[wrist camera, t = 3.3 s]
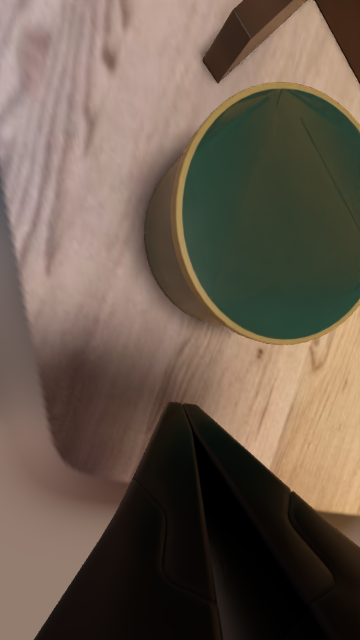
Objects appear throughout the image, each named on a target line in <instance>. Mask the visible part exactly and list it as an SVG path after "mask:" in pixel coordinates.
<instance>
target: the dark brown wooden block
mask: <svg viewBox="0 0 360 640" xmlns="http://www.w3.org/2000/svg"><path fill="white" fill-rule="evenodd" d="M306 1H307V0H243V1H242V2H241V3H240V4H239V5H238V6H237V7H235V8H234V9H233V10H232V12H231V14H230V15H229V17H228V19H227V20H226V22H225V24H224V25H223V27H222V29H221V30H220V32H219V34H218V35H217V37H216V39H215V40H214V42H213V44H212V45H211V47H210V49H209V50H208V52H207V54H206V55H205V57H204V59H203V61H204V63H205V64H206V66H207V67H208V69H209V70H210V71H211V73H212V74H213V76H214V77H215V79H216V80H217V82H218V83H219V82H220V81H221V80H222V79H223V78H224V77H225V76H226V75H227V74H228V73H230V72H231V71H232V70H233V69H234V68H235V67H236V66H237V65H238V64H239V63H240V62H241V61H242V60H243V59H245V58H246V57H247V56H248V55H249V54H250V53H251V52H252V51H253V50H254V49H255V48H256V47H257V46H258V45H260V44H261V43H262V42H263V41H264V40H265V39H266V38H267V37H268V36H269V35H270V34H271V33H272V32H273V31H274V30H276V29H277V28H278V27H279V26H280V25H281V24H282V23H283V22H284V21H285V20H286V19H287V18H288V17H289V16H291V15H292V14H293V13H294V12H295V11H296V10H297V9H298V8H299V7H300V6H301V5H302V4H303V3H304V2H306ZM316 2H317V3H318V5H319V7H320V9H321V11H322V13H323V15H324V16H325V18H326V20H327V22H328V24H329V26H330V28H331V30H332V31H333V33H334V35H335V37H336V39H337V41H338V43H339V44H340V46H341V48H342V50H343V52H344V54H345V56H346V58H347V59H348V61H349V63H350V65H351V67H352V69H353V71H354V72H355V74H356V76H357V78H358V80H359V82H360V0H316Z"/></svg>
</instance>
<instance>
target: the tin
mask: <svg viewBox="0 0 360 640" xmlns="http://www.w3.org/2000/svg"><path fill="white" fill-rule="evenodd" d="M145 247H146V253H147V257H148V261H149V265H150V267H151V270H152V273H153V275H154V277H155V279H156V281H157V283H158V284H159V286H160V287H161V289H162V290H163V292H164V293H165V295H166V296H167V297H168V298H169V299H170V300H171V301H172V302H173V303H174V304H175V305H176V306H177V307H178V308H180V309H181V310H182V311H184V312H185V313H187V314H189V315H190V316H192V317H194V318H196V319H199V320H201V321H205V322H208V323H211V324H215V325H218V326H222V327H225V328H228V329H230V330H231V331H233V332H235V333H237V334H239V335H242V336H244V337H246V338H249V339H252V340H256V341H260V342H263V343H267V344H276V345H293V344H298V343H304V342H308V341H310V340H313V339H316V338H319V337H321V336H323V335H325V334H327V333H329V332H330V331H332V330H333V329H335V328H336V327H338V326H339V325H340V324H342V323H343V322H344V321H345V320H346V319H347V318H348V317H349V316H351V315H352V313H353V312H354V311H355V310H356V309H357V308H358V306H359V305H360V125H359V123H358V122H357V121H356V120H355V119H354V118H353V117H352V115H351V114H350V113H349V112H348V111H347V110H346V109H345V108H343V107H342V106H341V105H340V104H339V103H338V102H336V101H335V100H333V99H332V98H330V97H329V96H327V95H326V94H324V93H322V92H320V91H317V90H315V89H313V88H311V87H307V86H304V85H300V84H296V83H287V82H276V83H266V84H261V85H257V86H253V87H250V88H248V89H246V90H243V91H241V92H239V93H237V94H235V95H234V96H232V97H231V98H229V99H228V100H226V101H224V102H223V103H222V104H221V105H220V106H219V107H218V108H217V109H215V110H214V111H213V112H212V113H211V114H210V115H209V117H208V118H207V119H206V120H205V122H204V123H203V124H202V125H201V126H200V128H199V129H198V130H197V131H196V133H195V134H194V136H193V137H192V139H191V141H190V142H189V144H188V146H187V147H186V149H185V151H184V153H183V154H182V155H181V156H180V157H179V158H178V159H177V161H176V162H175V163H174V164H173V165H172V166H171V167H170V169H169V170H168V171H167V172H166V173H165V175H164V176H163V177H162V178H161V180H160V181H159V183H158V185H157V186H156V188H155V190H154V192H153V195H152V197H151V199H150V202H149V206H148V209H147V213H146V220H145Z"/></svg>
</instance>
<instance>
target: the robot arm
mask: <svg viewBox="0 0 360 640" xmlns="http://www.w3.org/2000/svg"><path fill="white" fill-rule="evenodd" d="M34 640H360V547H359V546H358V545H356V544H355V543H354V542H353V541H351V540H350V539H349V538H348V537H346V536H345V535H344V534H343V533H342V532H340V531H339V530H338V529H337V528H335V527H334V526H333V525H332V524H330V523H329V522H328V521H327V520H326V519H325V518H323V517H322V516H321V515H320V514H319V513H318V512H317V511H315V510H314V509H313V508H312V507H311V506H310V505H308V504H307V503H306V502H305V501H304V500H303V499H302V498H301V497H299V496H298V495H297V494H296V493H295V492H294V491H292V492H291V490H290V488H289V487H288V486H286V485H285V484H284V483H283V482H282V481H281V480H280V479H279V478H278V477H276V476H275V475H274V474H273V473H272V472H271V471H270V470H269V469H268V468H266V467H265V466H264V465H263V464H262V463H261V462H260V461H259V460H258V459H256V458H255V457H254V456H253V455H252V454H251V453H250V452H249V451H248V450H246V449H245V448H244V447H243V446H242V445H241V444H240V443H239V442H238V441H236V440H235V439H234V438H233V437H232V436H231V435H230V434H229V433H228V432H226V431H225V430H224V429H223V428H222V427H221V426H220V425H219V424H218V423H216V422H215V421H214V420H213V419H212V418H211V417H210V416H209V415H208V414H206V413H205V412H204V411H203V410H202V409H201V408H200V407H199V406H197V405H195V404H186V403H184V404H181V403H178V402H167V403H166V405H165V408H164V410H163V412H162V414H161V416H160V419H159V421H158V423H157V425H156V428H155V430H154V432H153V434H152V436H151V439H150V441H149V443H148V445H147V447H146V450H145V452H144V454H143V456H142V459H141V461H140V463H139V465H138V467H137V470H136V472H135V474H134V476H133V479H132V481H131V482H130V485H129V487H128V489H127V491H126V493H125V495H124V497H123V499H122V501H121V503H120V505H119V507H118V509H117V511H116V513H115V515H114V517H113V518H112V520H111V522H110V523H109V525H108V527H107V528H106V530H105V532H104V533H103V535H102V537H101V538H100V540H99V542H98V543H97V544H96V546H95V547H94V549H93V550H92V552H91V553H90V555H89V556H88V558H87V559H86V561H85V563H84V564H83V566H82V567H81V569H80V570H79V572H78V573H77V575H76V576H75V578H74V579H73V581H72V582H71V584H70V585H69V587H68V588H67V590H66V591H65V593H64V595H63V596H62V598H61V599H60V601H59V602H58V604H57V605H56V607H55V608H54V610H53V611H52V613H51V614H50V616H49V617H48V619H47V621H46V622H45V624H44V625H43V626H42V628H41V630H40V631H39V633H38V634H37V636H36V637H35V639H34Z"/></svg>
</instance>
